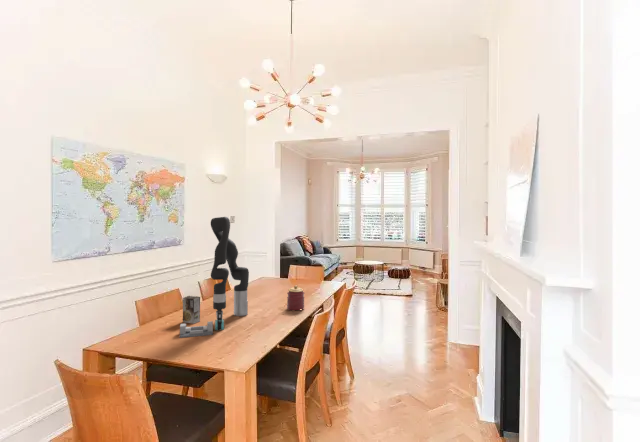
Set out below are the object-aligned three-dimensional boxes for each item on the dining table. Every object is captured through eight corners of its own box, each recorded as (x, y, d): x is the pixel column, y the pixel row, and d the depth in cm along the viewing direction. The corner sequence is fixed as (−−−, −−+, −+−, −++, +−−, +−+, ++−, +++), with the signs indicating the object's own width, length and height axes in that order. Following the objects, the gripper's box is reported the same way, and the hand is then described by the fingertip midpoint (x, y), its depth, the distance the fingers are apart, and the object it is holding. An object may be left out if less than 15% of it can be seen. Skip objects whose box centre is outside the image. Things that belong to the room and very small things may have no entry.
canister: (283, 309, 252) (284, 286, 251) (291, 305, 264) (292, 283, 263) (299, 311, 247) (300, 287, 246) (307, 307, 259) (307, 284, 259)
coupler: (223, 327, 212) (223, 319, 211) (223, 329, 207) (223, 321, 207) (215, 327, 210) (215, 319, 210) (215, 330, 205) (215, 322, 205)
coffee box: (200, 321, 223) (200, 296, 222) (193, 324, 217) (194, 298, 216) (189, 319, 226) (189, 295, 225) (182, 322, 220) (182, 297, 219)
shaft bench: (212, 328, 209) (212, 319, 209) (212, 334, 198) (212, 325, 198) (181, 330, 203) (181, 322, 203) (179, 337, 192) (179, 328, 192)
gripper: (226, 303, 202) (226, 331, 203) (225, 297, 216) (225, 323, 216) (213, 303, 200) (213, 332, 200) (213, 298, 214) (212, 324, 214)
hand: (219, 327), depth 208 cm, fingers closed on coupler, 5 cm apart
